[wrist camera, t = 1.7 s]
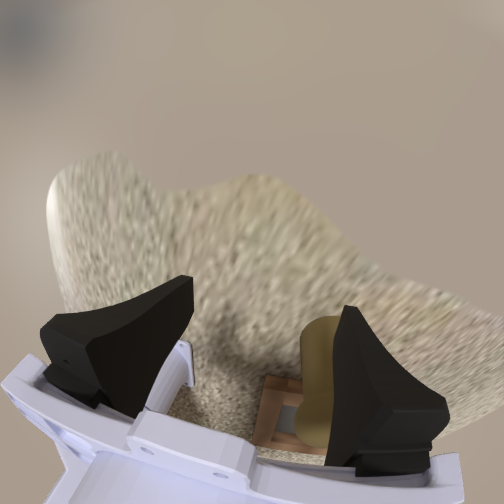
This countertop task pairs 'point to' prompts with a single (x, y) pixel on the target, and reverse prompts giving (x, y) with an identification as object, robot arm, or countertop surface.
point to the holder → (280, 416)
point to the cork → (316, 382)
